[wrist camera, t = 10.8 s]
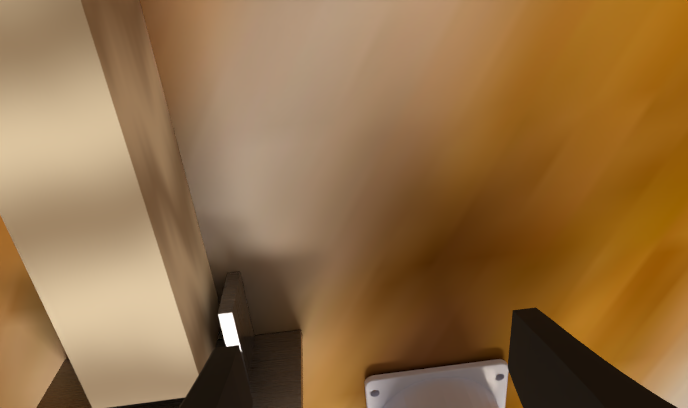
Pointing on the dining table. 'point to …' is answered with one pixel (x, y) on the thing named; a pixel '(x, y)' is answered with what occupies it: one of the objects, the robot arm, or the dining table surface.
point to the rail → (102, 199)
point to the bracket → (257, 351)
